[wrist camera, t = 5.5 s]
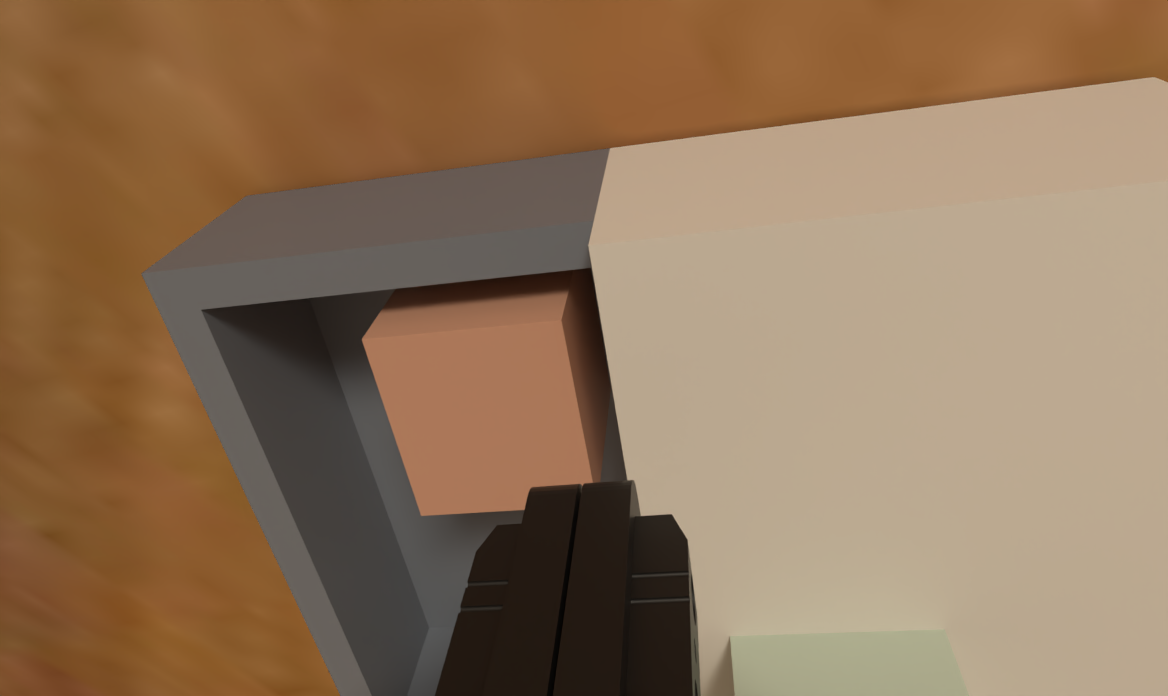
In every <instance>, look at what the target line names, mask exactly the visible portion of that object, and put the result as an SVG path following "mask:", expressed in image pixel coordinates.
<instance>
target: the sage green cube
mask: <svg viewBox="0 0 1168 696" xmlns="http://www.w3.org/2000/svg"><path fill="white" fill-rule="evenodd" d="M730 643H731V655H732V668H733V680H734V692H735V696H969V694H968V691H967V688H966V685H965V683H964V680H963V677H962V675H961V672H960V669H959V667H958V664H957V661H956V658H955V656H954V653H953V650H952V648H951V645H950V642H949V639H948V637H947V634H946V631H945V629H942V630H911V631H879V632H848V633H817V634H785V635H754V636H730Z"/></svg>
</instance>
